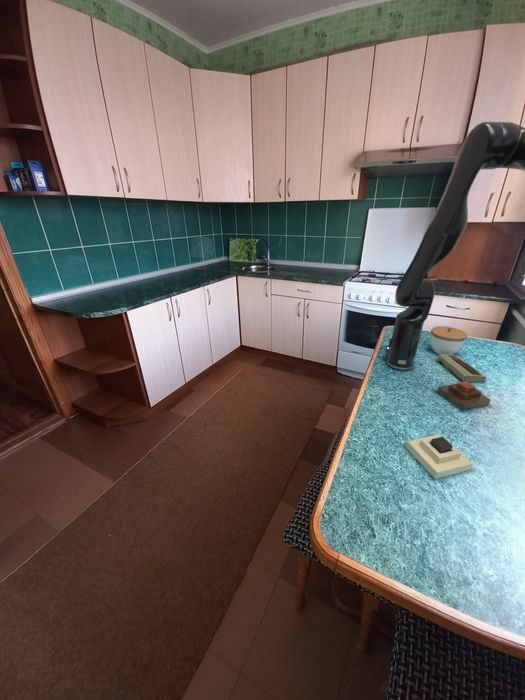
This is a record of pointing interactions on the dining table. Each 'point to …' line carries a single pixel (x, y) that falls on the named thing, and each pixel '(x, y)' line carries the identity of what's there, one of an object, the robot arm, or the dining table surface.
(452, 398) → the brown stepped square base
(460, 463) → the beige stepped square base
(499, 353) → the dining table surface
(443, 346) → the lidded bowl
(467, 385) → the key back
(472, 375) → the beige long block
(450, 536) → the dining table surface
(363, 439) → the dining table surface
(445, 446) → the key front
